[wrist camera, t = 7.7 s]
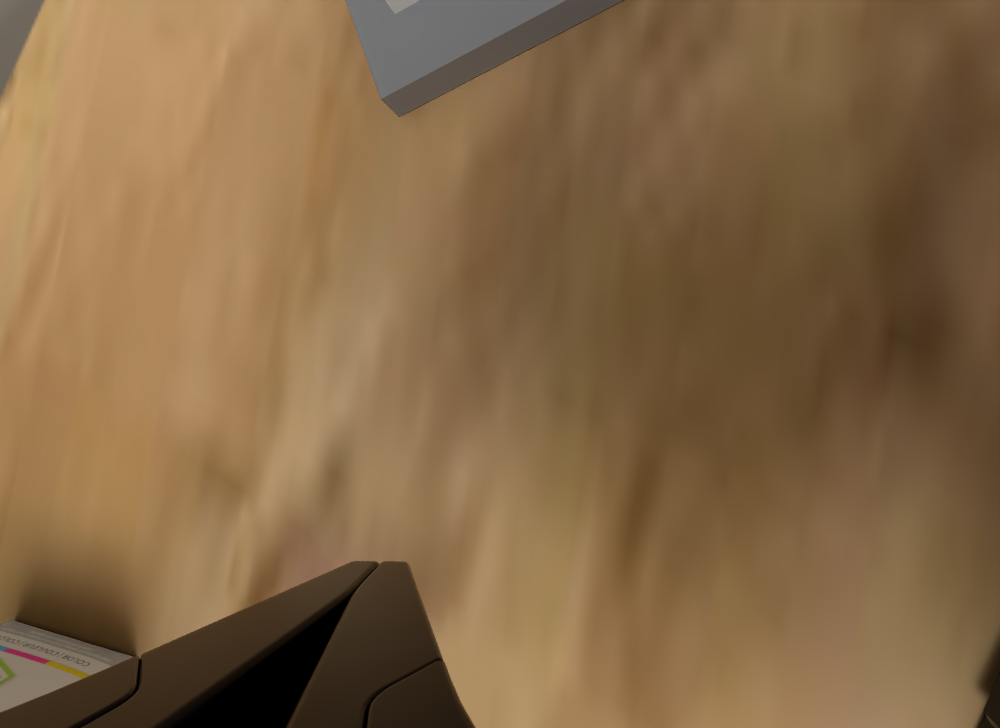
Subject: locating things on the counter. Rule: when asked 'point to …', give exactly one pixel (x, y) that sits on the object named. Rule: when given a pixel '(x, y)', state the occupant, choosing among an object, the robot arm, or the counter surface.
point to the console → (453, 40)
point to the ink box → (44, 662)
